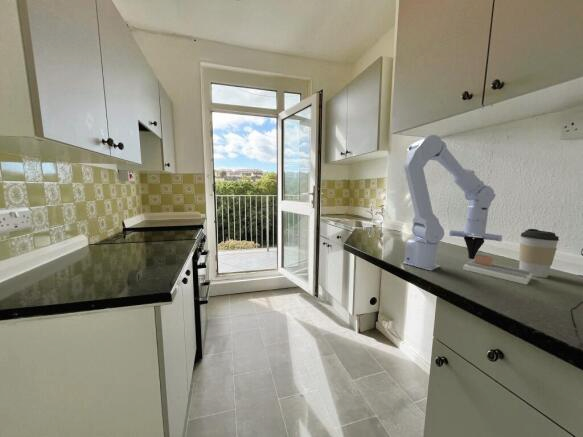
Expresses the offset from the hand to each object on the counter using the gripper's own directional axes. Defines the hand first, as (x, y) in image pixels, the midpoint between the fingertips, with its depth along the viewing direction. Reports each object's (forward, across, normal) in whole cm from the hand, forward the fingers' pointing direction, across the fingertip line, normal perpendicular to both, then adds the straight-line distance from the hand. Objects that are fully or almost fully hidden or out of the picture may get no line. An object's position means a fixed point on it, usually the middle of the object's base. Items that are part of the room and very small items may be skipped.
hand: (471, 258), depth 85 cm
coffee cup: (+4, +18, +6) cm, 19 cm away
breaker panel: (+3, +7, -3) cm, 8 cm away
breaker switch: (+2, +3, -1) cm, 4 cm away
